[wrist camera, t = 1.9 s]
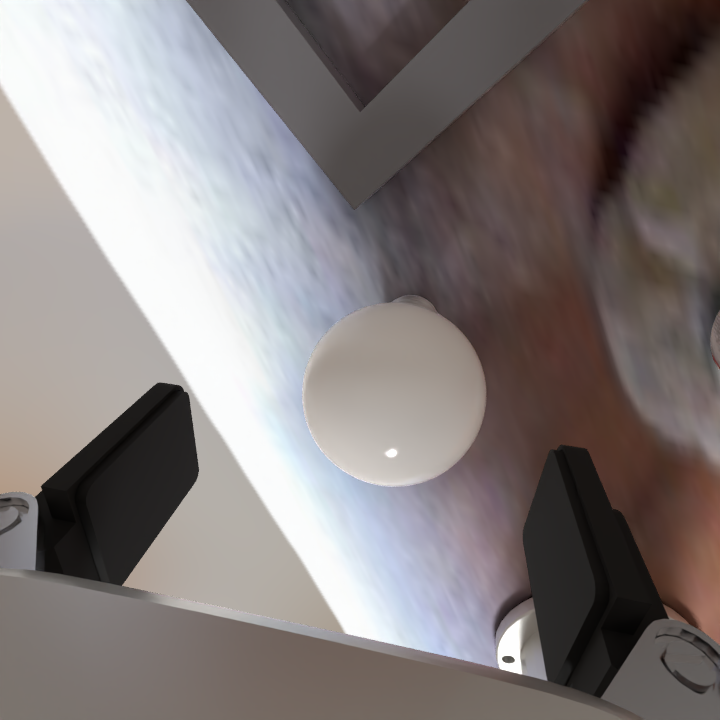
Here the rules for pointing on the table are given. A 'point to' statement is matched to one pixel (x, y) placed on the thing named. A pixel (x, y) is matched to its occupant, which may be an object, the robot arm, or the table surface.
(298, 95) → the socket block
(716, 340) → the soda can
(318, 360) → the lightbulb
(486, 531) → the table surface
